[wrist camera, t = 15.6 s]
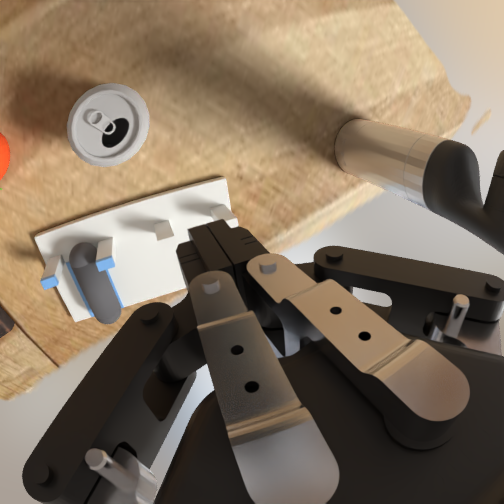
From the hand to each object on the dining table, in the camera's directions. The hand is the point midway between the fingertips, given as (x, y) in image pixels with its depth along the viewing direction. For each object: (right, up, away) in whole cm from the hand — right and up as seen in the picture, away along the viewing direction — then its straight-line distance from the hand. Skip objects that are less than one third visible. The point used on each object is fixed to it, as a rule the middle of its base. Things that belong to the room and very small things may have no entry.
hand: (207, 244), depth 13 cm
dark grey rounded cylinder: (-19, -4, +25) cm, 31 cm away
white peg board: (-13, 0, +27) cm, 30 cm away
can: (-14, +15, +19) cm, 28 cm away
